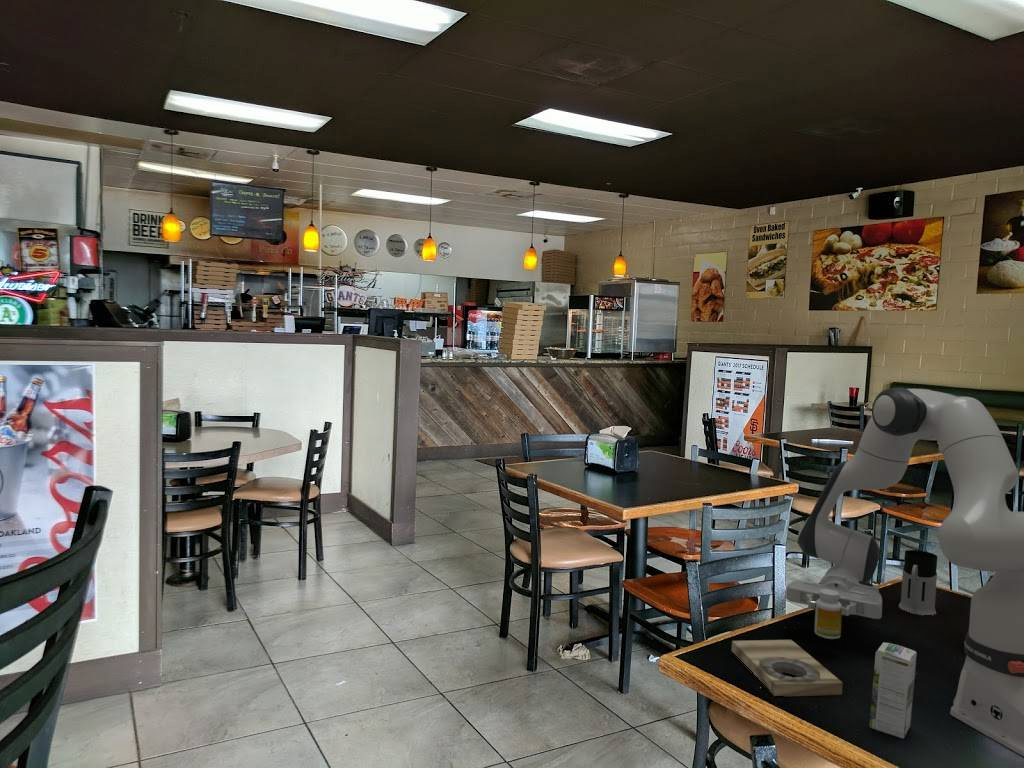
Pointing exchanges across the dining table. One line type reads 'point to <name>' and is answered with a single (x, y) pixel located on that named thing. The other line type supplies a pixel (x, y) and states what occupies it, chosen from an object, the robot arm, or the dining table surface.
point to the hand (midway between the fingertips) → (827, 608)
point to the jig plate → (786, 668)
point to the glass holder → (919, 582)
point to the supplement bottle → (828, 615)
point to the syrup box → (893, 689)
